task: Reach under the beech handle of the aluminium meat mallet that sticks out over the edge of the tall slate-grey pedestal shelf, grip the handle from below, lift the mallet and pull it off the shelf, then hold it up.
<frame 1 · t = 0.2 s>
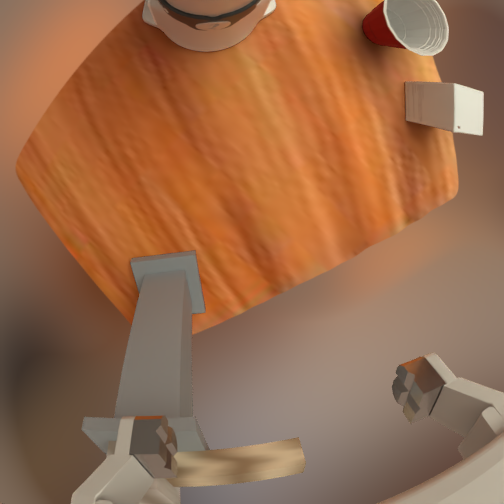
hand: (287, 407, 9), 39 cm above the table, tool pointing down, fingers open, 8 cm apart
mallet: (146, 457, 24), point 32 cm above the table, touching pedestal shelf
supplement box: (419, 102, 42), on the table
pedestal shelf: (169, 284, 52), on the table
plastic cup: (375, 29, 36), on the table
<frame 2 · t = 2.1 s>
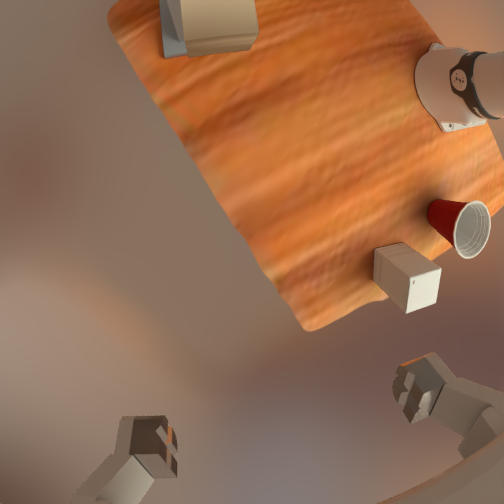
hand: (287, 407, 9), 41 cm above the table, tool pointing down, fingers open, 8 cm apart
supplement box: (388, 260, 57), on the table
pedestal shelf: (201, 22, 36), on the table
plastic cup: (435, 211, 54), on the table
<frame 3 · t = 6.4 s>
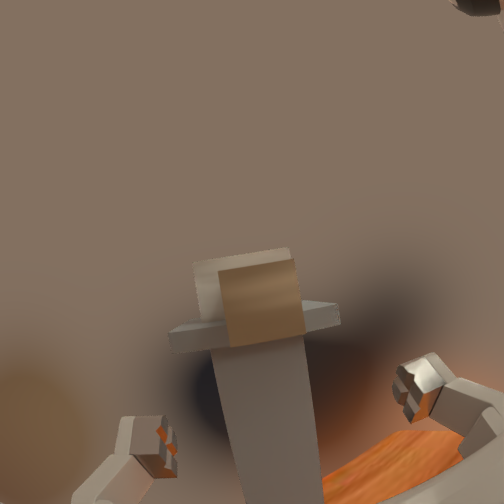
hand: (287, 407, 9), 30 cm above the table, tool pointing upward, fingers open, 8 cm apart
mallet: (249, 313, 27), point 32 cm above the table, touching pedestal shelf
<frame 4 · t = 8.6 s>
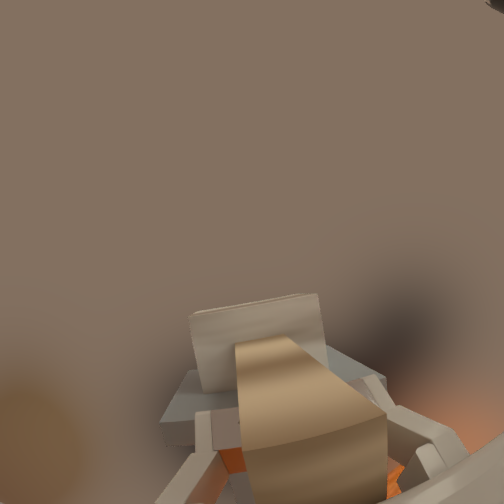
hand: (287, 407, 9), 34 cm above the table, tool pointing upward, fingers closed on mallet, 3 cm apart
mallet: (263, 373, 20), point 32 cm above the table, touching gripper, pedestal shelf
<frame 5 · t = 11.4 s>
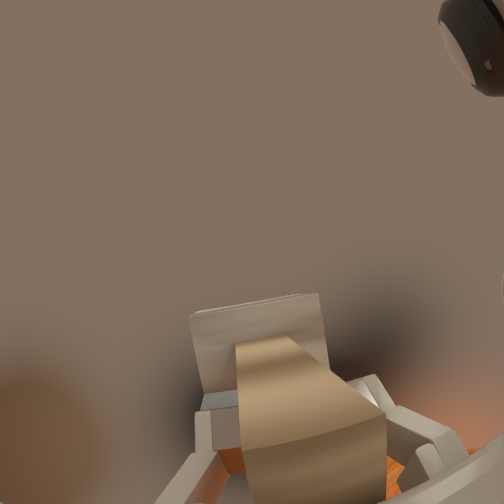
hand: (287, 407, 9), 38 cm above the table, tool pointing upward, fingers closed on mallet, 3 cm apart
mallet: (264, 373, 20), point 36 cm above the table, touching gripper
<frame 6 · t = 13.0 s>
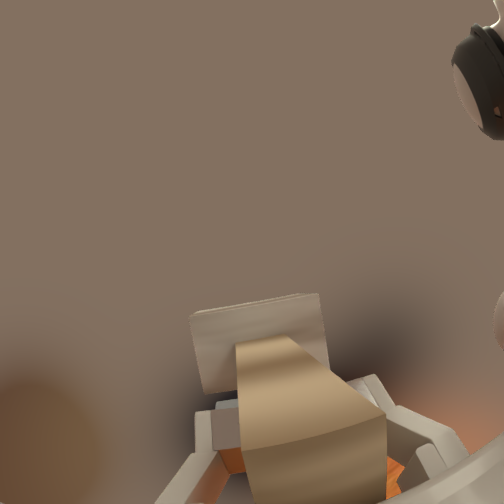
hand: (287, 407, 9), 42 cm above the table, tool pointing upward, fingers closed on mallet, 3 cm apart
mallet: (264, 373, 20), point 40 cm above the table, touching gripper
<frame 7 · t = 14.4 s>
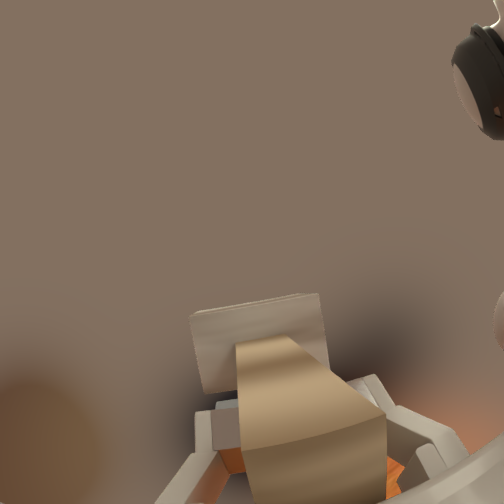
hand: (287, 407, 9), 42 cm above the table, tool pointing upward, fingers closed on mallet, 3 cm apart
mallet: (264, 373, 20), point 40 cm above the table, touching gripper
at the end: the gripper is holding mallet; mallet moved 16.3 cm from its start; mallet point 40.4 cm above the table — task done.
